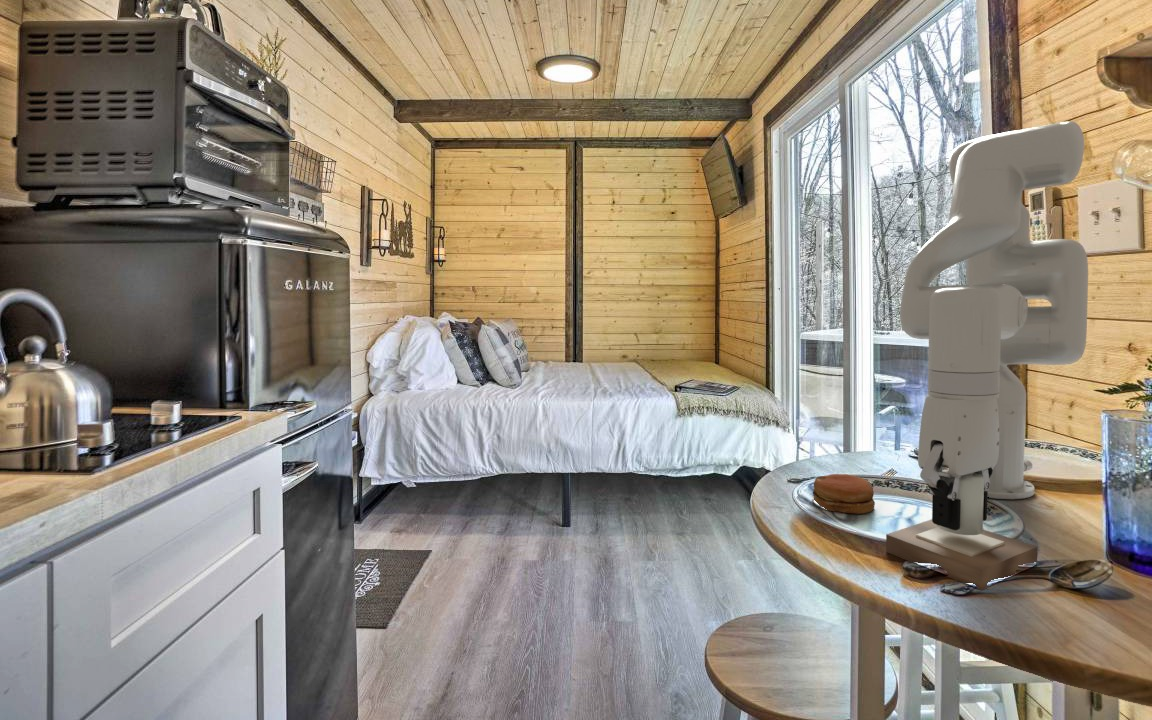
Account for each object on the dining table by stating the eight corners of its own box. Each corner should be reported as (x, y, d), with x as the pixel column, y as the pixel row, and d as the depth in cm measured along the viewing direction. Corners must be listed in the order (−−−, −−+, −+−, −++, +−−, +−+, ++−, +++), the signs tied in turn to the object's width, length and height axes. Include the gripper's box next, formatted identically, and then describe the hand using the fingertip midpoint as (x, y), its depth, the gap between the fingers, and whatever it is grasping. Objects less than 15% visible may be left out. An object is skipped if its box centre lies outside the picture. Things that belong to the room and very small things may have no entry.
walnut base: (940, 532, 82) (941, 514, 82) (1036, 565, 72) (1037, 544, 71) (886, 551, 77) (886, 532, 77) (981, 590, 66) (981, 567, 66)
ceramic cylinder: (950, 517, 77) (952, 467, 76) (991, 529, 73) (992, 476, 72) (927, 525, 75) (928, 473, 74) (967, 538, 70) (969, 483, 70)
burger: (884, 516, 90) (884, 487, 89) (822, 516, 91) (822, 488, 90) (861, 495, 99) (861, 469, 99) (805, 495, 101) (805, 469, 100)
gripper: (971, 375, 79) (968, 501, 81) (891, 387, 72) (889, 526, 73) (1033, 380, 72) (1028, 518, 74) (952, 394, 65) (948, 547, 67)
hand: (959, 520), depth 74 cm, fingers closed on ceramic cylinder, 5 cm apart
